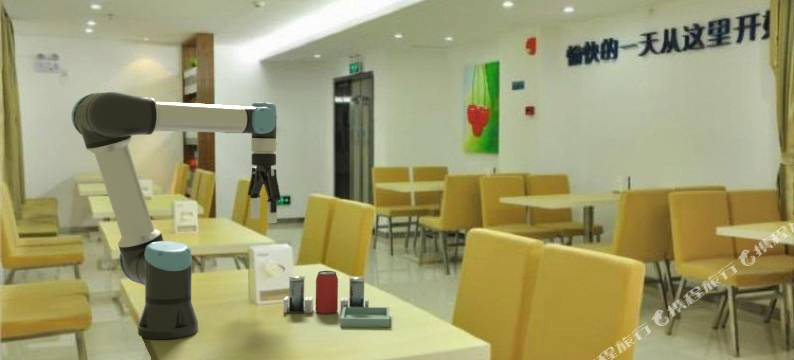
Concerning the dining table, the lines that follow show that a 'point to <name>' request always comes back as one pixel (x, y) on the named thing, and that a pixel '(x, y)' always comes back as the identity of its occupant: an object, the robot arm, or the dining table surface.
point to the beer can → (326, 292)
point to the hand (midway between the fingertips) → (263, 220)
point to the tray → (365, 317)
